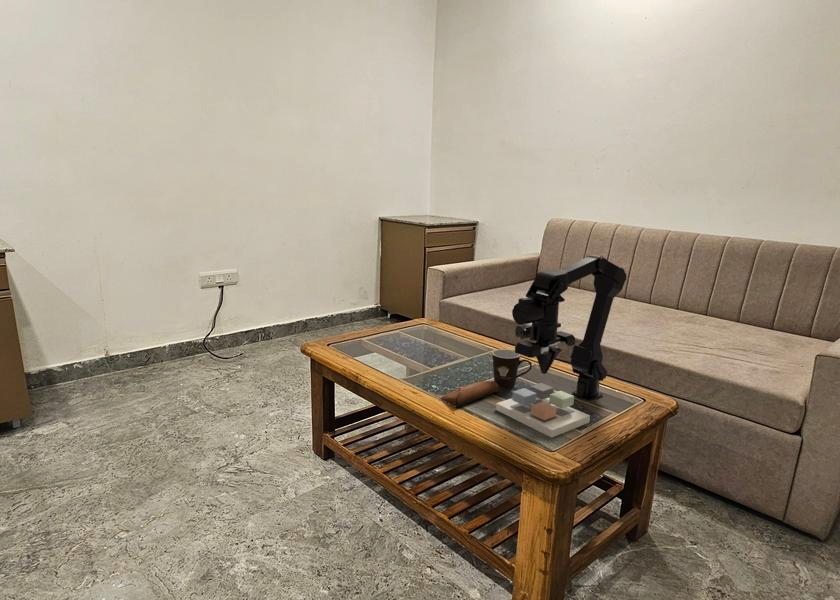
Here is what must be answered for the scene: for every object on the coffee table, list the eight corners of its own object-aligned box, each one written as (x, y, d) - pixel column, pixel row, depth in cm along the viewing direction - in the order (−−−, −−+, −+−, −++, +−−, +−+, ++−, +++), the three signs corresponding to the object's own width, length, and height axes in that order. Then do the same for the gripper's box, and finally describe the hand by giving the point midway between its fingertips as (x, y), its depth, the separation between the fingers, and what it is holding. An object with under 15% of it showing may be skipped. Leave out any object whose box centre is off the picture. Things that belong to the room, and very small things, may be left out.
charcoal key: (540, 390, 158) (541, 382, 157) (553, 396, 154) (553, 387, 154) (529, 394, 155) (530, 386, 155) (542, 399, 152) (542, 391, 151)
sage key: (560, 399, 152) (560, 390, 152) (573, 404, 149) (574, 396, 148) (549, 402, 150) (549, 394, 149) (562, 408, 146) (563, 399, 146)
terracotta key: (542, 410, 149) (543, 401, 148) (555, 416, 145) (556, 407, 144) (531, 414, 146) (531, 405, 145) (544, 420, 142) (544, 411, 142)
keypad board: (532, 397, 163) (533, 390, 162) (589, 422, 147) (589, 414, 147) (496, 409, 154) (496, 402, 154) (551, 437, 139) (552, 429, 138)
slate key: (523, 396, 154) (524, 388, 153) (535, 401, 150) (536, 393, 150) (512, 400, 151) (512, 391, 150) (524, 405, 148) (524, 397, 147)
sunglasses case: (478, 384, 172) (487, 370, 168) (492, 401, 169) (502, 386, 165) (436, 399, 160) (445, 384, 157) (451, 418, 157) (460, 403, 153)
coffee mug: (485, 383, 173) (486, 353, 171) (502, 376, 179) (503, 347, 177) (515, 394, 165) (517, 362, 163) (532, 386, 171) (534, 356, 169)
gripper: (546, 307, 161) (543, 358, 164) (501, 318, 149) (499, 372, 153) (578, 315, 152) (574, 369, 156) (532, 327, 141) (529, 384, 145)
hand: (543, 373), depth 153 cm, fingers closed
